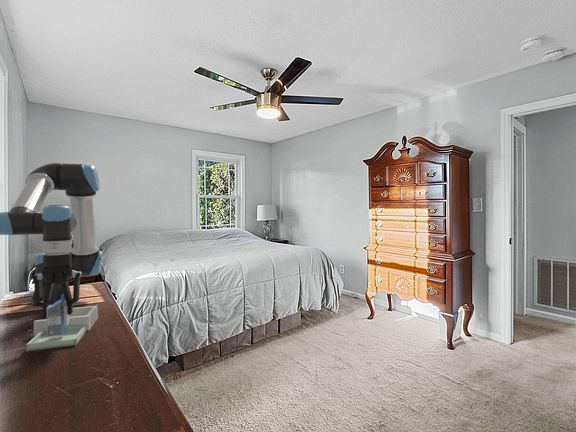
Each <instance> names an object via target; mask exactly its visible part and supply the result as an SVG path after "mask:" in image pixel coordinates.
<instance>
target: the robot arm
mask: <svg viewBox="0 0 576 432" xmlns="http://www.w3.org/2000/svg"><path fill="white" fill-rule="evenodd" d="M99 179H100V178H99V174H98V170H97V169H96V167H95V166H94V165H91V164H84V163H59V162H58V163H57V162H53V163H52V162H51V163H47V164H43V165H41V166H39V167H37V168H35V169H34V170H32V171H31V172H30V173H29V174H28V175H27V176H26V178H25V180H24V181H25V182H24V183H25V185H24V187H23V189H22V190H21V192H20V193H19V196H18V197H17V199H16V200H15V202H14V204H13V206H12V207H11V209H10V210H9V211H3V212H2V211H1V212H0V235H1V236H6V235H7V236H17V235H18V236H21V235H23V236H25V235H42V253H39V254H36V256H35V260H34V261H35V262H34V274H33V275H32V276H31V279H32V281H33V283H34V284H33V285H34V289H33V293H32V295H31V298H30V305H31V306H35V307H36V306H37V307H42V313H43V314H42V317H43V318H46V319H47V328H48V309H49V308H50V307H51V306H52V305H53V304H54V303H55V302H57V301H59V300H61V295H62V294H63V293H64V298H65V300H66V305H65V306H64V326H67V325H68V324H69V315H71V314H72V312H73V308H74V305H73V304H76V303H77V302H79V300H80V292H81V291H80V287H81V286H80V285H81V278H82V277H91V276H92V277H93V276H98V275H99V274H100V273H101V269H102V268H101V267H102V261H103V251H101V250H100V249H99V247H98V246H97V245H96V243H95V242H96V241H95V226H94V225H95V223H94V222H95V221H94V205H93V204H94V203H93V198H94V197H95V196H96V194H97V192H98V191H100V180H99ZM52 191H65V196H66V197H68V198H69V200H70V201H69V202H70V207H69V206H67V205H46V206H44V207H42V205H43V204H44V202H45V199H46V198H47V195H48V194H50V193H51V192H52ZM41 209H42V211H41V212H40V210H41ZM72 240H73V241H72ZM72 243H73V245H72ZM72 246H73V247H72ZM69 278H73V284H72V285H73V286H72V287H73V291H72V292H73V293H72V292H71V288H70V285H69V282H70V281H69Z"/></svg>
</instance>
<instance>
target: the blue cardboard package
mask: <svg viewBox="0 0 576 432" xmlns="http://www.w3.org/2000/svg"><path fill="white" fill-rule="evenodd" d="M65 305H66V300H65V298H64V293H63V294H62V295H61V300H59V301H57V302H55V303H54V304H53V305H52V306H51V307H50V308H49V309H48V336H51V335H59V334H62V333H63V331H64V330H65V329H66V327H67V326H68V325H67V326H64V306H65Z"/></svg>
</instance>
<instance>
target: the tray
mask: <svg viewBox="0 0 576 432" xmlns="http://www.w3.org/2000/svg"><path fill="white" fill-rule="evenodd" d="M87 331H88V330H87V325H84V326H74V327H66V329H65V330H64V331H63V333H62V334H59V335H51V336H48V329H45V330H42V331H40V332H39V333H38V334H37V335H36V336H34V337H33V338H32V339H30V340H29V341H28V342H27V343H25V352H32V351H41V350H47V349H56V348H63V347H72V346H74V347H75V346H77V345H78V343H79V342H80V341H81V339H82V338H83V337H84V335H85V334H86V333H87Z"/></svg>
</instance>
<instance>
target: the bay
mask: <svg viewBox="0 0 576 432" xmlns="http://www.w3.org/2000/svg"><path fill="white" fill-rule="evenodd" d="M98 309H99V308H98V305H89V306H79V307H73V312H72V314H71V315H69V324H68V326H67V327H74V326H84V325H87V331H90V330H91V328H92V327H93V326H94V324H95V322H96V321H97V320H98V316H99V314H98V313H99V312H98V311H99V310H98ZM45 329H48V328H47V318H45V319H37V320H36V319H35V320H33V336H34V337H35V336H36V335H37V334H38V333H39V332H40V331H42V330H45Z"/></svg>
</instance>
